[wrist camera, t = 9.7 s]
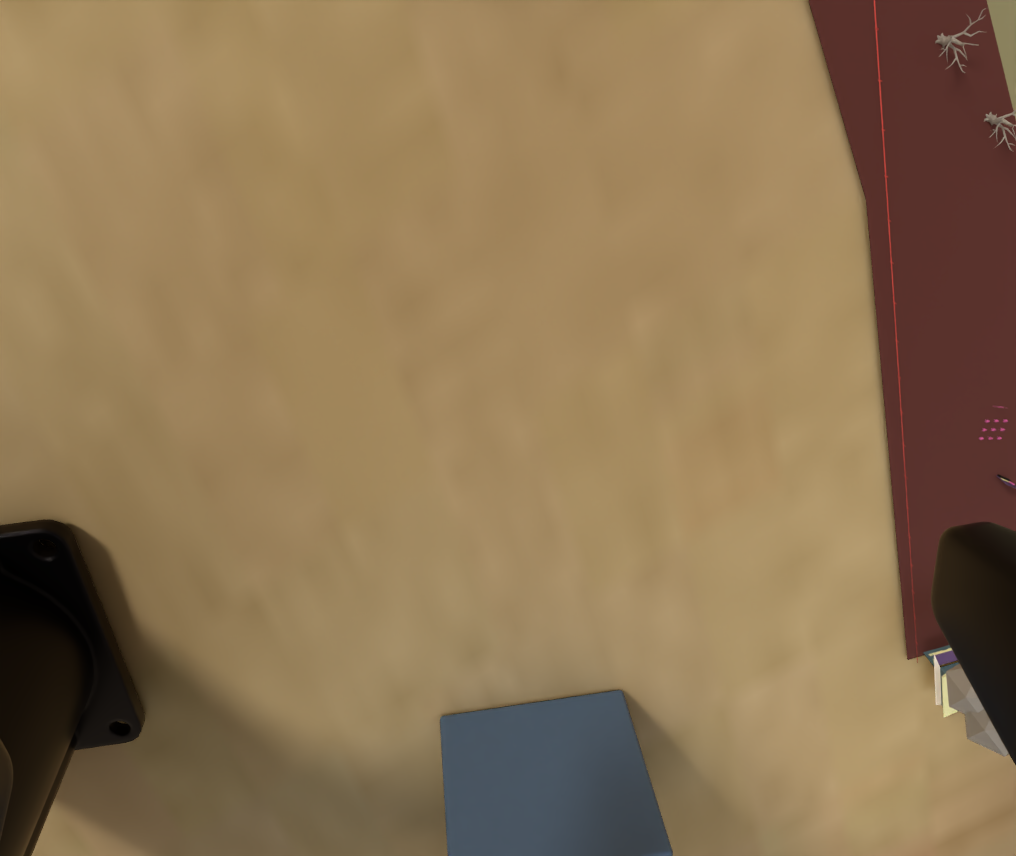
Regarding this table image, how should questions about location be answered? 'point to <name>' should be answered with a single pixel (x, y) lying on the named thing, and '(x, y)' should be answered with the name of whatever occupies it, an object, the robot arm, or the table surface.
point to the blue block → (549, 781)
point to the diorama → (938, 274)
